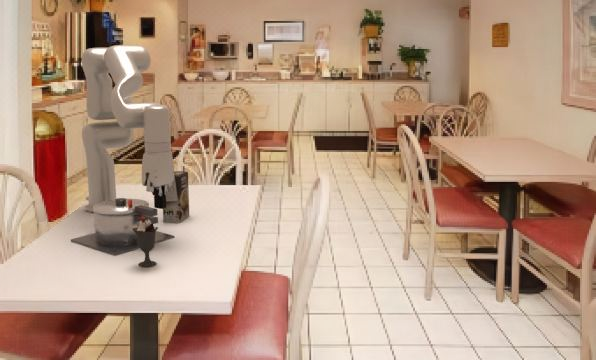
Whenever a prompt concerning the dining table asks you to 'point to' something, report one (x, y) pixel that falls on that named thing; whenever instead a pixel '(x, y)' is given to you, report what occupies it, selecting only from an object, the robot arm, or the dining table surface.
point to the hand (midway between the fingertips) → (160, 207)
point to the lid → (124, 207)
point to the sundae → (145, 239)
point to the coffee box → (177, 199)
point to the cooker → (117, 233)
